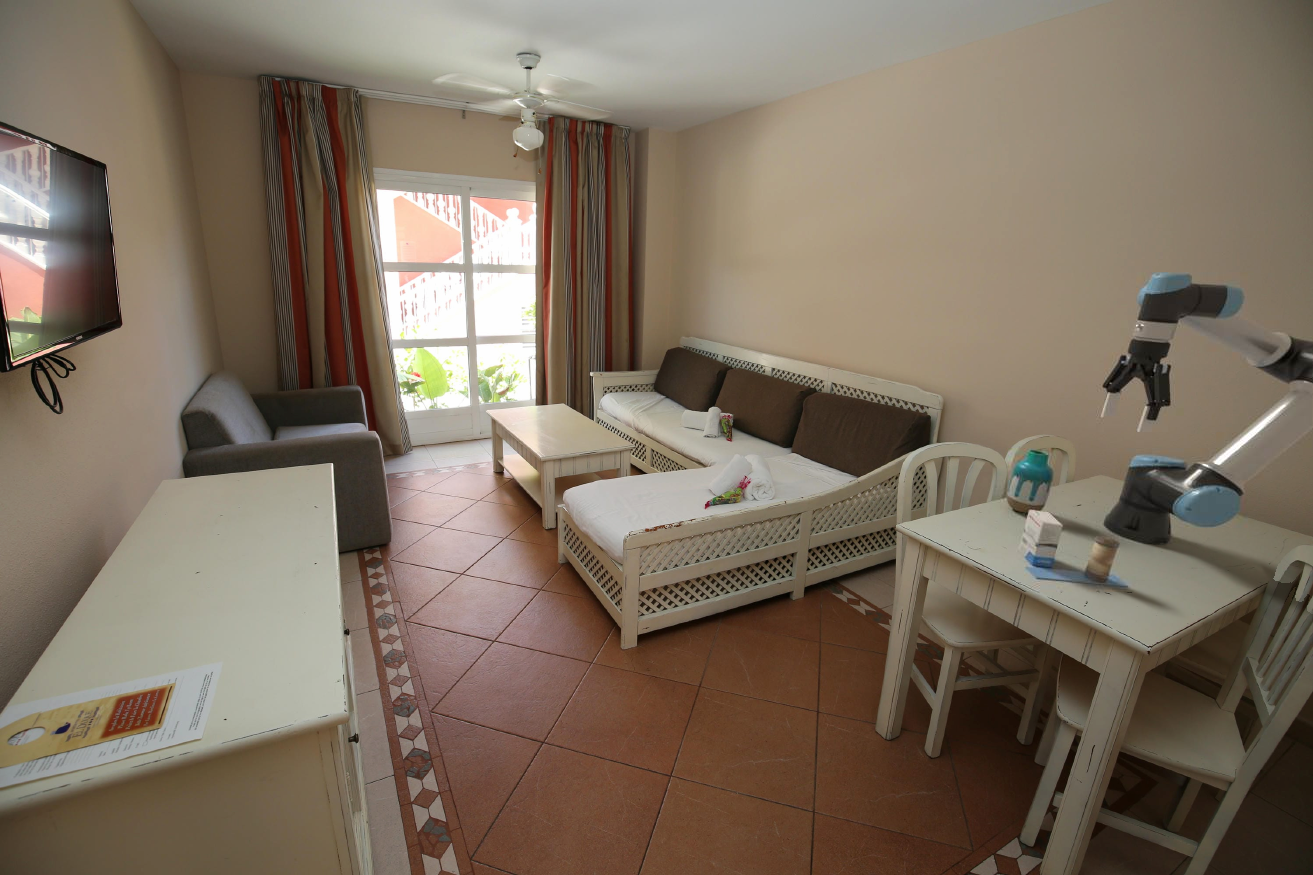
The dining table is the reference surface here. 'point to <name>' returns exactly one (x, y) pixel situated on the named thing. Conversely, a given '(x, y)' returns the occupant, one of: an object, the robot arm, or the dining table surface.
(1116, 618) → the dining table surface
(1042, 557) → the ink box
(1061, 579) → the tape line
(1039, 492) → the vase
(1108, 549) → the tan cylindrical piece
